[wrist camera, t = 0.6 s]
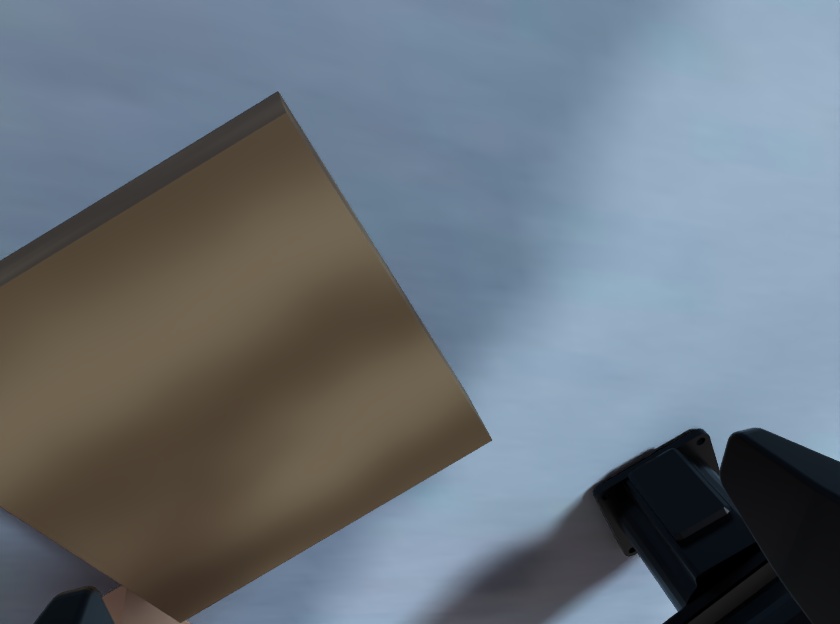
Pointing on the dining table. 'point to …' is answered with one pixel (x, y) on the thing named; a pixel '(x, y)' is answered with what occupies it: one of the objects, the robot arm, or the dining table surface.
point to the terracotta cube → (134, 609)
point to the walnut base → (215, 371)
